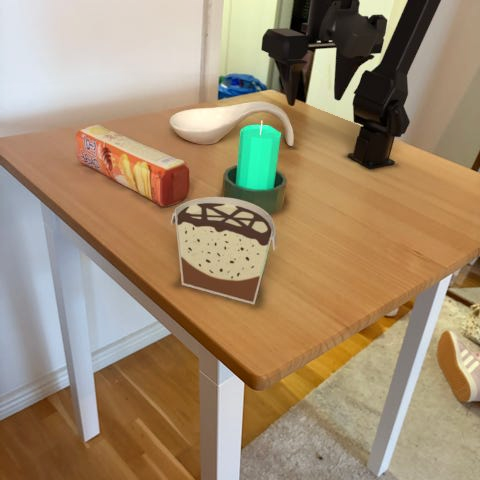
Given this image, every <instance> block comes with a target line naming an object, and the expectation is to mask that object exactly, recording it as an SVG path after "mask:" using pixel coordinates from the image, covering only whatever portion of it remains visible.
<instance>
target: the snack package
mask: <svg viewBox="0 0 480 480" xmlns="http://www.w3.org/2000/svg"><path fill="white" fill-rule="evenodd" d="M75 146H76V149H75V150H76V155H77V156H76V157H77V159H78V161H79V162H80V163H81V164H82V165H85V166H87V167H89V168H92V169H93V170H95V171H97V172H99V173H101V174H103V175H104V176H106V177H108V178H110V179H111V180H113V181H115V182H117V183H118V184H120V185H122V186H124V187H126V188H128V189H130V190H132V191H134V192H136V193H137V194H139V195H141V196H143V197H145V198H147V199H148V200H151V202H154V203H155V204H157V205H159V206H160V207H163V208H164V207H165V208H166V207H171V206H173V205H175V204H178V203H179V202H182V200H184V199H185V198H186V197H187V196H188V194H189V192H190V185H191V184H190V167H189V165H188V163H187V162H186V161H185V160H183V159H180V158H177V157H174V156H172V155H169V154H167V153H165V152H163V151H160V150H158V149H156V148H154V147H151V146H148V145H146V144H144V143H141V142H139V141H137V140H134V139H132V138H129V137H128V136H126V135H123V134H120V133H118V132H115V131H113V130H110V129H108V128H106V127H104V126H103V125H101V124H92V125H90V126H86V127H84V128H81V129H79V130H78V131H77V133H76V135H75Z"/></svg>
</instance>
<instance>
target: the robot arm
mask: <svg viewBox="0 0 480 480" xmlns="http://www.w3.org/2000/svg"><path fill="white" fill-rule="evenodd" d="M441 2H442V0H407V1H406V3H405V5H404V7H403V10H402V12H401V14H400V17H399V19H398V21H397V24H396V26H395V28H394V30H393V33H392V34H391V36H390V39H389V42H388V44H387V47H386V49H385V52H384V54H383V55H382V58H381V61H380V62H379V64H378V65H376V66H375V67H374V68H373V69H372V70H368V69H365V70H364V71H363V73H361V76H360V79H359V82H358V85H357V86H356V89H354V91H353V95H354V96H353V99H352V113H353V115H352V116H353V118H352V119H353V123H355V124H358V125H360V127H359V132H358V135H357V136H356V140H355V145H354V149H353V152H349V153H348V154H347V157H348V158H349V159H351V160H353V161H355V162H357V163H358V164H360V165H361V166H364V167H366V168H367V169H369V170H373V169H379V168H382V167H387V166H393V165H395V163H396V161H395V160H394V159H392V158H391V152H392V149H393V145H394V141H395V139H396V138H402V135H404V134H406V132H407V130H408V128H409V126H410V123H411V121H410V118H409V116H408V113H407V111H406V109H405V104H406V102H407V99H408V96H409V85H408V74H409V71H410V70H411V67H412V65H413V63H414V60H415V59H416V56H417V54H418V52H419V50H420V47H421V45H422V43H423V42H424V39H425V37H426V35H427V32H428V30H429V28H430V26H431V23H432V21H433V19H434V17H435V15H436V12H437V11H438V8H439V6H440V4H441ZM360 4H361V2H360V0H310V5H309V11H308V18H307V22H302V23H301V28H300V31H301V32H303V33H301V32H298V31H295V30H294V29H291V28H288V27H284V28H279V27H278V28H267V30H266V31H265V32H264V33H263V36H262V39H261V47H260V49H261V51H263V52H264V53H267V56H268V57H269V58H271V59H273V61H274V63H275V66H276V69H277V71H278V74H279V77H280V80H281V85H282V87H283V91H284V95H285V98H286V102H287V105H288V106H290V107H294V106H295V103H296V100H297V96H298V91H299V84H300V83H299V82H300V77H301V71H302V70H303V68H304V67H305V66H306V65H307V64H308V61H307V60H305V59H304V58H305V56H307V54H308V52H309V50H310V51H311V50H323V49H335V63H334V64H335V65H334V80H333V81H334V83H333V98H334V100H336V101H338V102H339V101H341V100H342V98H343V96H344V94H345V93H346V90H347V89H348V87H349V85H350V83H351V81H352V80H353V77H354V76H355V74H356V73H357V71H358V70H359V68H360V67H361V66H362V65H364V64H365V63H366V62H368V61H370V60H371V61H372V60H373V59H375V55H376V54H382V50H383V46H384V43H385V36H386V33H387V28H388V27H387V26H388V18H386V17H385V16H384V15H383V14H371V16H370V17H369V16H368V15H362V14H360V12H359V11H360Z"/></svg>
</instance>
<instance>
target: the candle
mask: <svg viewBox="0 0 480 480" xmlns="http://www.w3.org/2000/svg"><path fill="white" fill-rule="evenodd" d="M281 138H282V132H281V131H279V130H277V129H276V128H274V127H272V125H268V124H263V120H261V121H260V124H248V125H246V126H244V127H242V128H241V129H240V130H239V140H238V149H237V150H238V152H237V163H236V165H237V175H236V185H239V186H241V187H244V188H249V189H271V188H274V184H275V177H276V169H277V170H278V162H279V161H278V159H279V153H280V145H281Z"/></svg>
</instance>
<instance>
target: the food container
mask: <svg viewBox="0 0 480 480" xmlns="http://www.w3.org/2000/svg"><path fill="white" fill-rule="evenodd" d="M173 224H175V230H176V240H177V241H176V242H177V251H178V261H179V270H180V279H181V285H182V286H185V287H189V288H192V289H196V290H199V291H203V292H207V293H210V294H214V295H217V296H221V297H225V298H229V299H232V300H235V301H239V302H242V303H247V304H251V305H254V306H255V304H256V301H257V299H258V296H259V291H260V288H261V284H262V280H263V276H264V272H265V268H266V266H267V261H268V256H269V253H270V249H271V245H272V248H273V249H272V250H273V251H276V248H277V244H278V243H277V242H278V239H277V229H276V225H275V223H274V220H273V217H272V216H271V214H268V213H267V212H266V211H264V210H263V209H262V208H260V207H258V206H256V205H254V204H252V203H249V202H246V201H243V200H239V199H234V198H226V197H223V196H208V197H200V198H194V199H191V200H187V201H186V202H183V203H182V204H179V205H178V206H177V207H175V208H174V212H173V213H172V214H171V221H170V225H171V226H173Z"/></svg>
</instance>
